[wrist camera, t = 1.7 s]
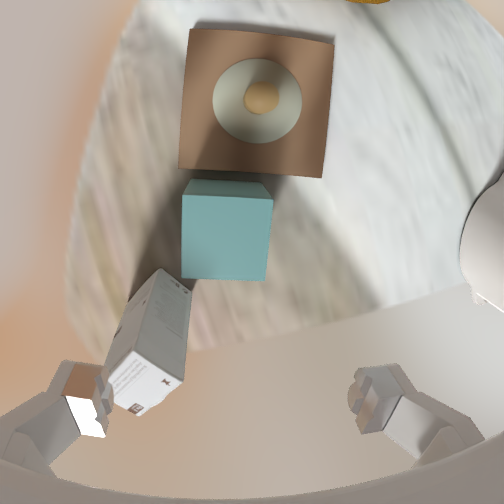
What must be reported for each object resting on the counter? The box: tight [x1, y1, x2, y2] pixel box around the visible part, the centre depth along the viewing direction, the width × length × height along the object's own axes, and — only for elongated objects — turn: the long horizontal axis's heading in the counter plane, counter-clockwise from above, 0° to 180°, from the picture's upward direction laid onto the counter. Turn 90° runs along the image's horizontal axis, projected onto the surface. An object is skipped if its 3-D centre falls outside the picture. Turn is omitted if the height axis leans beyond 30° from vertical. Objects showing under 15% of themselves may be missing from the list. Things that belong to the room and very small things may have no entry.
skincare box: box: [104, 268, 192, 416], centre depth 25 cm, size 6×4×12 cm
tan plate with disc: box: [178, 29, 334, 178], centre depth 23 cm, size 12×12×4 cm
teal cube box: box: [181, 179, 274, 281], centre depth 25 cm, size 6×6×7 cm
